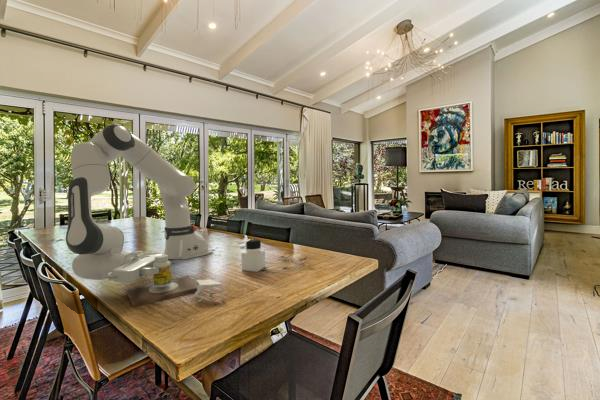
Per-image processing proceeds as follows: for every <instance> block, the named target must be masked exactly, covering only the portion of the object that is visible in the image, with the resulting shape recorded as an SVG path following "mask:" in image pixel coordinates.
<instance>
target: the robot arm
mask: <svg viewBox="0 0 600 400" xmlns="http://www.w3.org/2000/svg"><path fill="white" fill-rule="evenodd" d="M120 157H121V158H123V159H124V160H125V161H126V162H127V163H128V164H129V165H130V166H131V167H133V168H134V169H136V170H137V171H138V172H139V173H141V174H142V175H143V176H144V177H146V178H147V179H148V180H150V181H152V182H153V183H155V184H157V187H158V190H159V192H160V196H161V201H162V204H163V210H164V224H165V227H164V231H163V232H164V240H165V245H164V251H163V253H160V252H144V251H142V250H137V251H133V252H122V250H123V248H124V247H123V246H124V243H125V235H124V233H123V231H122V230H121V229H120V228H119V227H116V226H112V225H111V226H110V225H104V224H100V223H98V222H95V220H94V218H93V216H92V215H93V214H92V213H93V211H92V199H91V198H92V197H94V196H97V195H100V194H102V193H104V192H105V191H107V189H109V187H110V186H111V179H112V178H111V175H110V174H111V173H110V170H109V165H110V163H112V162H113V161H116V160H117V159H118V158H120ZM70 166H71V173H72V174H71V175H72V180H70V183H69V184H68V188H67V189H68V190H67V213H68V214H67V217H68V219H67V221H68V222H67V224H68V225H67V228H66V233H65V243H66V246H67V247H68V249H69V250H70V251H71V252H72V253H74V254H76V256H75V257H74V258H73V259H72V263H71V268H72V272H73V274H75V276H77V277H78V278H81V279H84V280H91V281H92V280H94V281H104V280H110V281H113V282H118V283H134V282H136V281H137V280H139V279H141V278H143V277H145V276H149V275H153V274H158V273H159V272H160V267H154V268H153V264H154V263H155V262H156V261H155V256H157V255H168V261H169V262H170V263H171V264H172V262H171V260H188V259H192V258H196V257H202V256H206V255H210V254H213V253H214V251H213V248H211V247H209V246H208V242H207V240H206V239H205V238H204V237H203V236H201V235H200V234H197V233H196V231H198V229H199V228H198V227H197V226H194V225H192V224H191V213H190V212H191V210H190V207H189V206H188V203H187V199H186V197H188V196H192V194H193V193H194V192H195V189H196V183H195V180H194V179H193V177H191V176H189V175H187V174H186V173H185V172H183V171H182V170H181V169H179V168H178V167H176V166H175V165H173V164H172V163H170V162H169V161H167V160H166V159H165V158H164V157H162V156H161V155H160V154H159V153H158V152H157V151H155V150H154V149H153V148H152V147H151V146H150V145H148V144H147V143H146V142H145V141H143V140H142V139H140V138H139V137H137V136H135V135H134V134H132V132H131V131H130V130H129V129H128V128H127V127H125V126H124V125H121V124H118V123H111V124H110V125H107V126H105V127H104V128H103V129H101V130H100V131H98V132H97V133H95V134H94V135H93V136H92V138H90V140H89V141H88V142H87V141H86V142H85V141H84V142H79V143H77V144H75V145H74V146H73V147H72V148H71V152H70Z"/></svg>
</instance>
